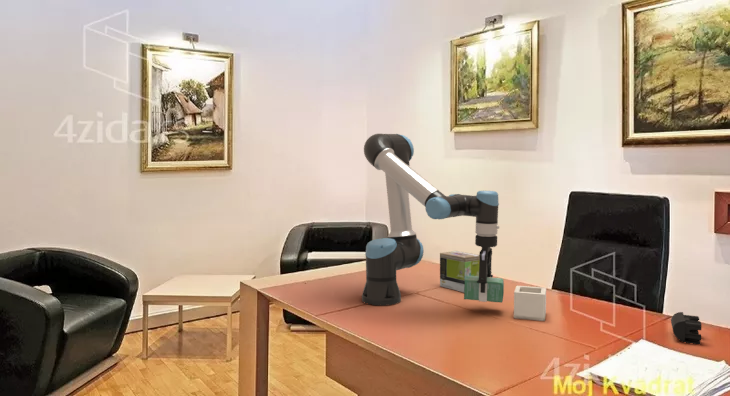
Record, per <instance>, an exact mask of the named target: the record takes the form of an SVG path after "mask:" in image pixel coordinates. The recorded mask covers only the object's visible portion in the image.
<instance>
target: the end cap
mask: <svg viewBox="0 0 730 396" xmlns="http://www.w3.org/2000/svg"><path fill="white" fill-rule="evenodd" d="M670 322H671V328H672V332H673V335H674V337H676V338H677V339H678V340H679V341H680V342H681V343H684V342H686V343H685V344H690V343H693V344H692V345H697V344H700V345H702V342H701V340H702V334H701V333H699V331H702V322H701V321H700V317H699V316H698V315H689V314H684V312H683V311H679V312H676V313H674V314H673V315H672V316H671V319H670Z"/></svg>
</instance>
